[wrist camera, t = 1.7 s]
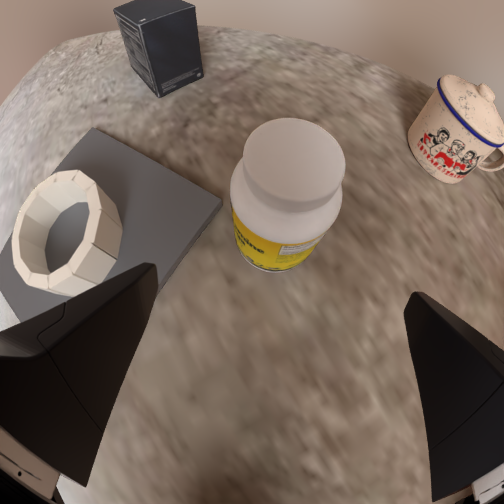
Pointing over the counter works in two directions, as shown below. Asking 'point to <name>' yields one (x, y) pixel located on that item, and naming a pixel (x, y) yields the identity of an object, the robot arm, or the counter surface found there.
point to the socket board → (141, 213)
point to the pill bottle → (285, 192)
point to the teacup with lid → (457, 130)
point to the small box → (161, 42)
